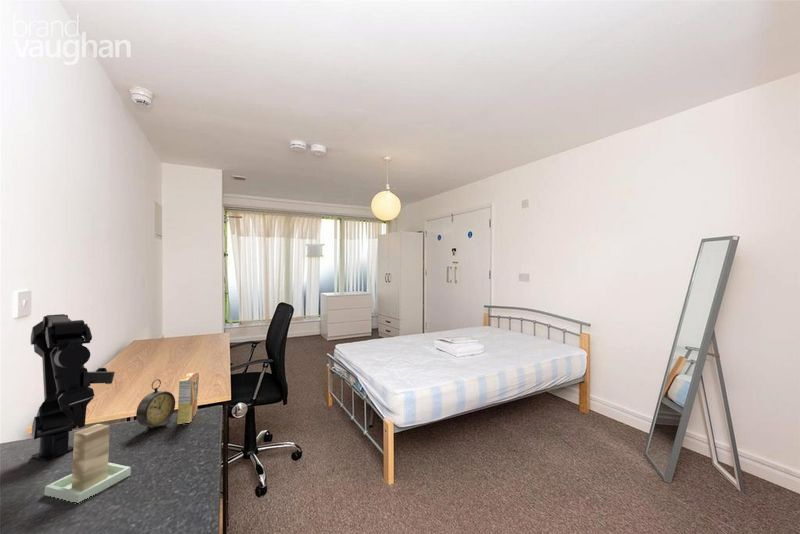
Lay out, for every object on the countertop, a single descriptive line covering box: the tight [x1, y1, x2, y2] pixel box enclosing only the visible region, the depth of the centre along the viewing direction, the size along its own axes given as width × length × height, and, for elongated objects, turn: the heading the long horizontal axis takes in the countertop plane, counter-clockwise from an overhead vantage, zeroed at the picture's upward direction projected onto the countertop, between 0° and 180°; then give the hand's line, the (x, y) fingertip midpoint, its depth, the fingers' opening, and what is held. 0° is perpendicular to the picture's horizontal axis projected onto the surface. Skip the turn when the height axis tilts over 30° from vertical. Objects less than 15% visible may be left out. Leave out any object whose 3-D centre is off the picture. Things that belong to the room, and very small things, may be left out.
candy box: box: [176, 372, 200, 425], centre depth 115 cm, size 9×4×15 cm, turn 19°
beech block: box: [71, 423, 111, 491], centre depth 79 cm, size 4×5×13 cm
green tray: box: [44, 461, 132, 504], centre depth 78 cm, size 11×11×2 cm
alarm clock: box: [135, 378, 176, 433], centre depth 108 cm, size 11×5×16 cm, turn 168°
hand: (80, 424), depth 85 cm, fingers open, 9 cm apart
